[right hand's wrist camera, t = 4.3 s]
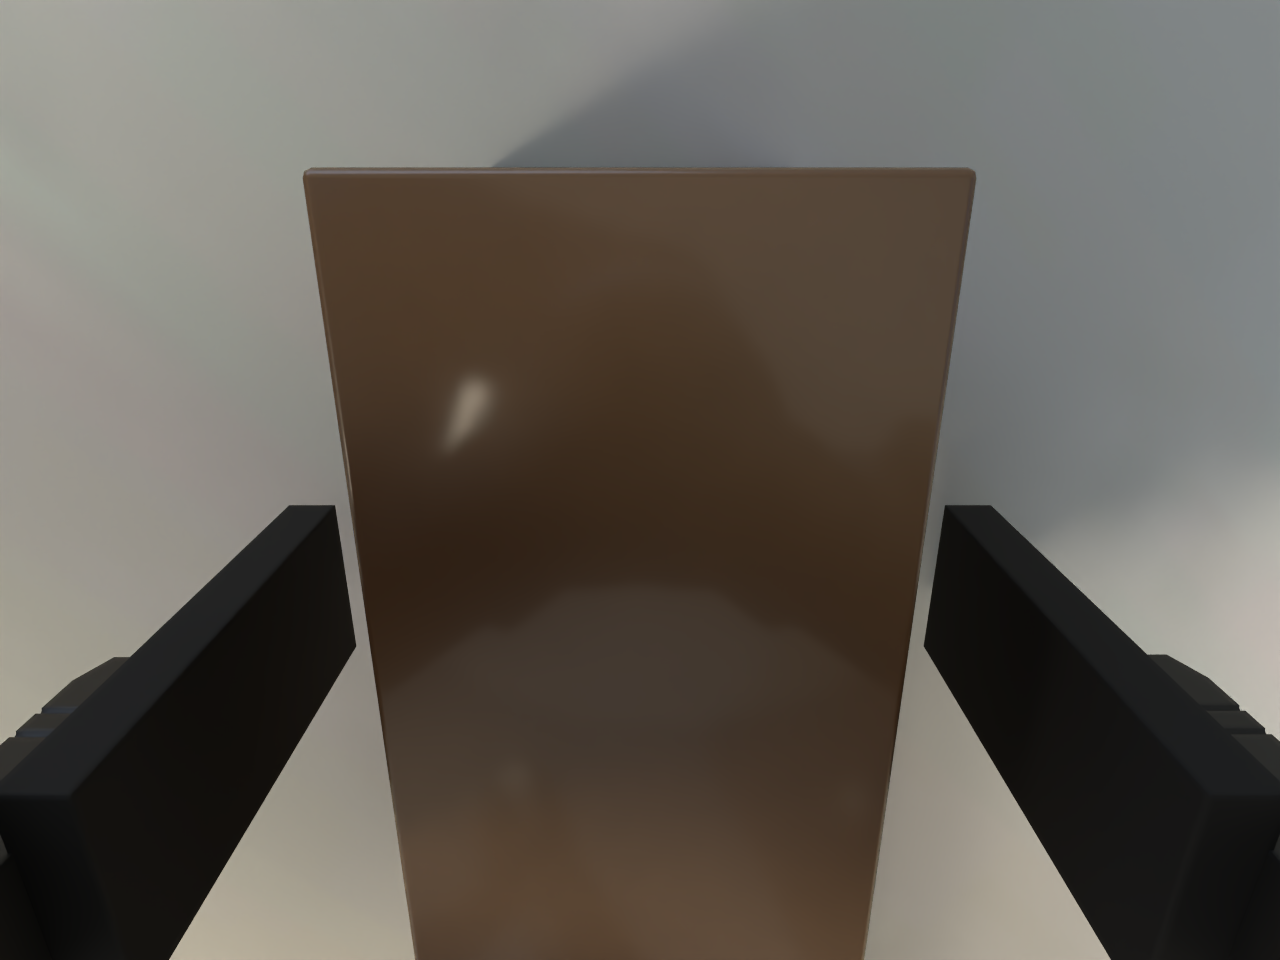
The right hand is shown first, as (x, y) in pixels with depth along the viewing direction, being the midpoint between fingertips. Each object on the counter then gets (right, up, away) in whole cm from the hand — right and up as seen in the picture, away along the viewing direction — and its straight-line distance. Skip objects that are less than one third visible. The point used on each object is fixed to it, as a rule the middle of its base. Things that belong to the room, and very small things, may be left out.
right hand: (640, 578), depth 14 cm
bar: (0, -22, +10) cm, 24 cm away
